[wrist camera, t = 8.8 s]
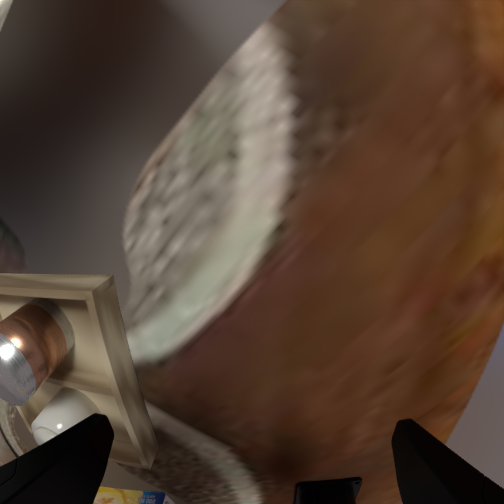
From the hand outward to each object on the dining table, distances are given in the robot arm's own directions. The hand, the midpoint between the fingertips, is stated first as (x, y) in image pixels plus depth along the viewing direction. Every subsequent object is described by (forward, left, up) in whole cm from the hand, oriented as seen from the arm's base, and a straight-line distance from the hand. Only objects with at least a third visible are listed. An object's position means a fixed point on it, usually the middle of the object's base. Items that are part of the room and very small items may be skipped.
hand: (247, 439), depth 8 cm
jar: (-12, +17, -11) cm, 24 cm away
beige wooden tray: (-8, +17, -12) cm, 22 cm away
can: (-3, +17, -11) cm, 21 cm away
